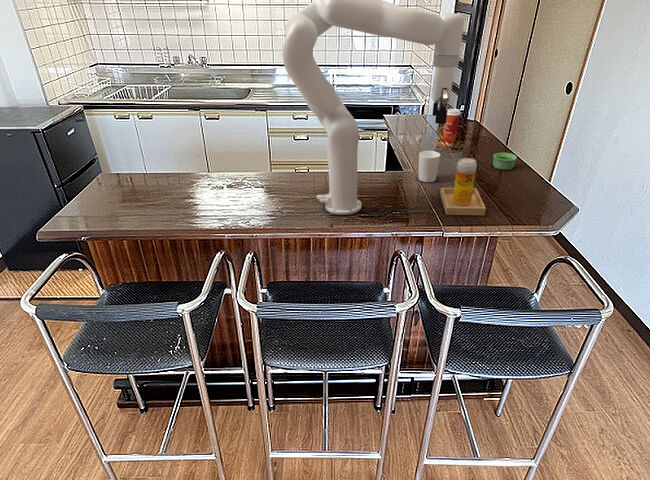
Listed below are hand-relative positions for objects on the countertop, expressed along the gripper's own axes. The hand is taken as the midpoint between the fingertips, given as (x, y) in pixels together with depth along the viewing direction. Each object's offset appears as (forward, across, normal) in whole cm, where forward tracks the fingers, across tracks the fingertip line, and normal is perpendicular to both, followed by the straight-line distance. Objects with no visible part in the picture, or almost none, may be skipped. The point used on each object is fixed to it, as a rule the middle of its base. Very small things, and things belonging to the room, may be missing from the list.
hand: (438, 119), depth 140 cm
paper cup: (+27, -68, +15) cm, 75 cm away
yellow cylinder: (+27, +4, +10) cm, 29 cm away
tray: (+28, +4, +11) cm, 30 cm away
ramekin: (+27, -33, +33) cm, 54 cm away
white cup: (+28, -18, +1) cm, 33 cm away
